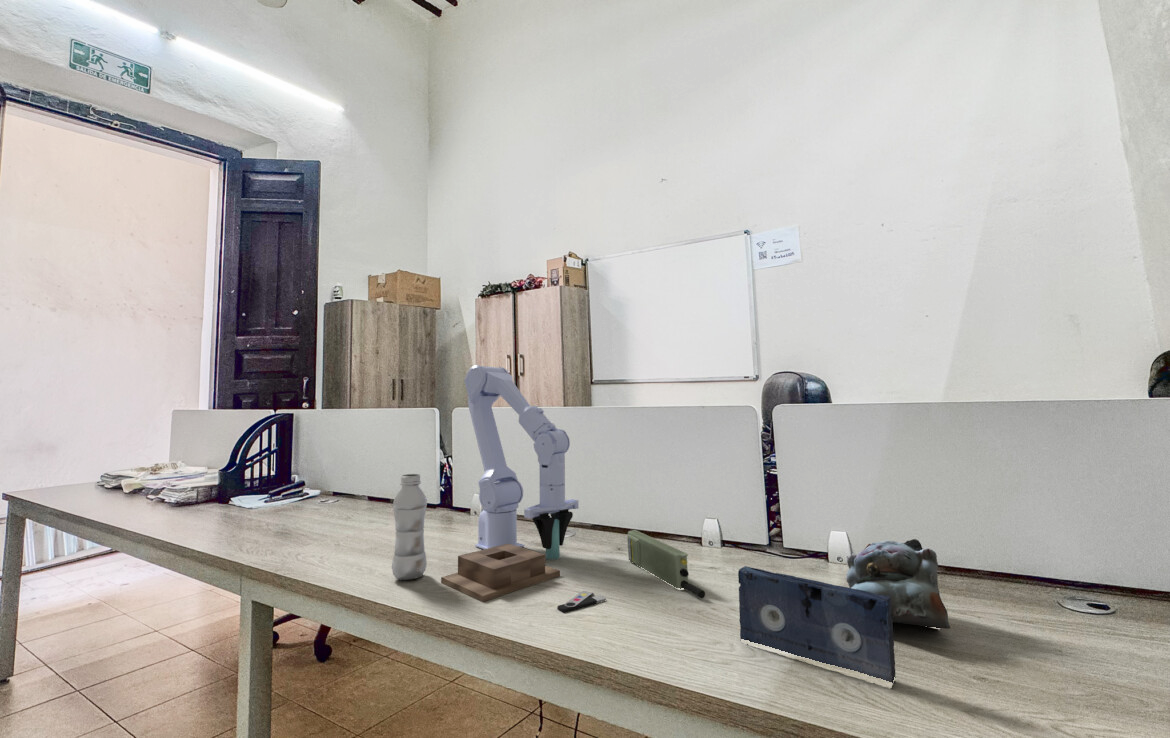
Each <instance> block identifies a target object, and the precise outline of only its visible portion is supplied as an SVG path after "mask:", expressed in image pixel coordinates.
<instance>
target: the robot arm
mask: <svg viewBox="0 0 1170 738" xmlns="http://www.w3.org/2000/svg"><path fill="white" fill-rule="evenodd" d="M464 385H465V389H466V393H467V407H468V410H469V414H470V417H471V418H470V419H471V422H472V426H473V430H474V431H473V432H474V433H475V434H474V435H475V438H476V441H477V446H478V450H479V454H480V458H481V462H482V465H483V469H484V470H483V471H484V474H482V477H481V478H480V479H479V481H478V482H477V483H478V488H479V492H478V494H479V495H478V497H479V498H478V499H479V500H478V501H479V503H480V505H481V507H482V508H483V510H482V511H481V512H480V513H479V516H478V519H477V520H478V524H477V525H478V529H477V533H478V539H477V540H478V541H477V543H475V544H474V546H475V547H477V548H479V549H481V550H484V549H488V548H492V547H496V546H500V545H504V544H512V545H515V546H518V547H521V548H524V547H525V544H524V543H520V542H518V539H517V537H518V534H517V532H518V530H517V526H518V523H517V520H518V518H517V517H518V516H517V515H518V513H517V510H518V508H519V504H520V503H521V502H522V500H523V497H524V488H523V485H522V483H521V482H520V481H519V479H518V476H517V473H516V472H515V471H514V470H512V469H511V468H510V467H509V466H508V465H507V461H506V457H505V453H504V449H503V445H502V442H501V438H500V435H499V430H498V426H497V424H496V419H495V415H494V412H493V408H492V407H493V405H494V403H495V402H497V400H498V399H499V398H500V397H501V398H502V399H503V400H504V401H505V402H506V403H507V404H508V405H509V406H510V407H511V408H512V410H514V412H516V414H517V415H518V424H520V426H521V428H522V429H524V431H525V432H526V434H527V435H528V436H529V437H530V438H531V440H532V441H533V449H534V451H535V453H536V455H537V462H538V464H539V503H537V504H535V505H532V506H530V507H526V508H523V509H524V510H523V511H524V512H523V517H524V518H525V519H528V520H530V519H531V520H532V521H533V523H534V525H535V527H536V529H537V531H538V535H539V538H540V542H541V546H542V548H544V549H545V550H546V549H551V545H552V529H553V524H554V521H555V519H557V520H559V547H560V546H563V545H564V540H565V537H566V533H567V529H568V526H569V524H570V522H571V520H572V518H573V515H574V514H573V512H572V511H569V510H577V509H578V510H579V500H578V499H574V498H573V499H571V498H570V499H566V462H565V461H566V456H565V455H566V453H567V452H568V450H569V448H570V445H571V442H570V441H571V440H570V438H569V436H568V434H567V432H566V431H565V430H564V429H561V428H560V429H559V428H557V427H556V425H555V424H554V423H552V422H551V421H550V419H548V417H547V416H546V415H545V414H544V413H545V411H544V409H543V408H541V407H538V406H534V405H532V406H531V405H530V403H529V401H527V399H526V398H525V396H524V395H523V394H522V392H521V391H520V390H519V388H518V387H517V385H516V384H515V383H514V382H513V375H512V374H510V373H509V371H508V370H507V369H506V368H505V367H502V366H498V367H494V366H484V365H480V364H474V365H472V366H471V367H470V368H469V369H468V371H467V373H466V375H465V377H464Z"/></svg>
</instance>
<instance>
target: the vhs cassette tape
mask: <svg viewBox="0 0 1170 738" xmlns="http://www.w3.org/2000/svg"><path fill="white" fill-rule="evenodd" d="M737 572H738V584H739V586H738V602H739V603H738V604H739V607H738V608H739V610H738V611H739V620H738V621H739V626H740V628H739V632H740V633H739V638H740V640H741V639H744V640H749V641H750V642H754V643H758V644H762V645H765V646H769V647H772V648H775V649H779V650H781V651H785V652H788V653H791V654H794V655H797V656H801V657H805V658H809V659H812V660H815V661H819V662H822V663H826V664H830V665H835V666H838V667H842V668H846V669H850V670H854V671H858V672H860V673H864V674H867V675H869V676H873V677H876V678H881V679H883V680H886V681H889V682H892V683H893V680H894V677H895V678H896V660H895V658H896V657H895V640H894V639H895V638H894V628H893V627H894V624H893V623H894V622H892V618H891V597H890V596H886V595H879V594H875V593H871V592H867V591H863V590H858V589H852V588H849V586H847V587H846V586H841V585H836V584H831V583H827V582H823V581H819V580H815V579H809V578H805V577H799V576H798V577H797V576H794V575H789V574H783V573H778V572H772V571H769V570H768V571H767V570H764V569H761V568H757V567H756V568H755V567H752V566H747V565H744V566H743V567H740V568H739V569H738V571H737Z"/></svg>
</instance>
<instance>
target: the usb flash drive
mask: <svg viewBox="0 0 1170 738" xmlns="http://www.w3.org/2000/svg"><path fill="white" fill-rule="evenodd" d="M593 595H595V593H594V592H592V591H585V590H582V591H581V592H579V593H578V594H576V595H575V596H573V598H571V599H569V600H568V601H566V602H565V603H562V604H559V605H557V606H556V607H557V609H556V610H557V611H559V612H561V613H563V614H566V613H571V612H574V611H577V610H580V609H584V608H585V609H586V608H587V607H591V606H595V604H596V605H597V604H600V603H599V602H601V601H604V602H606V601H607V598H606V597H605V596H602V595H600V594H599V595H595V596H593ZM605 600H606V601H605ZM601 603H602V602H601Z"/></svg>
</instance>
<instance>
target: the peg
mask: <svg viewBox="0 0 1170 738" xmlns="http://www.w3.org/2000/svg"><path fill="white" fill-rule="evenodd" d="M560 551H561V550H560V545H559V520H557V519H555V521H554V524H553V529H552V545H551V549H546V548H545V559H546V558H547V559H546V560H549V559H551V561H553V560H552V559H555V560H559V559H560V558H561V557H560ZM559 557H560V558H559ZM558 558H559V559H558Z"/></svg>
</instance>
